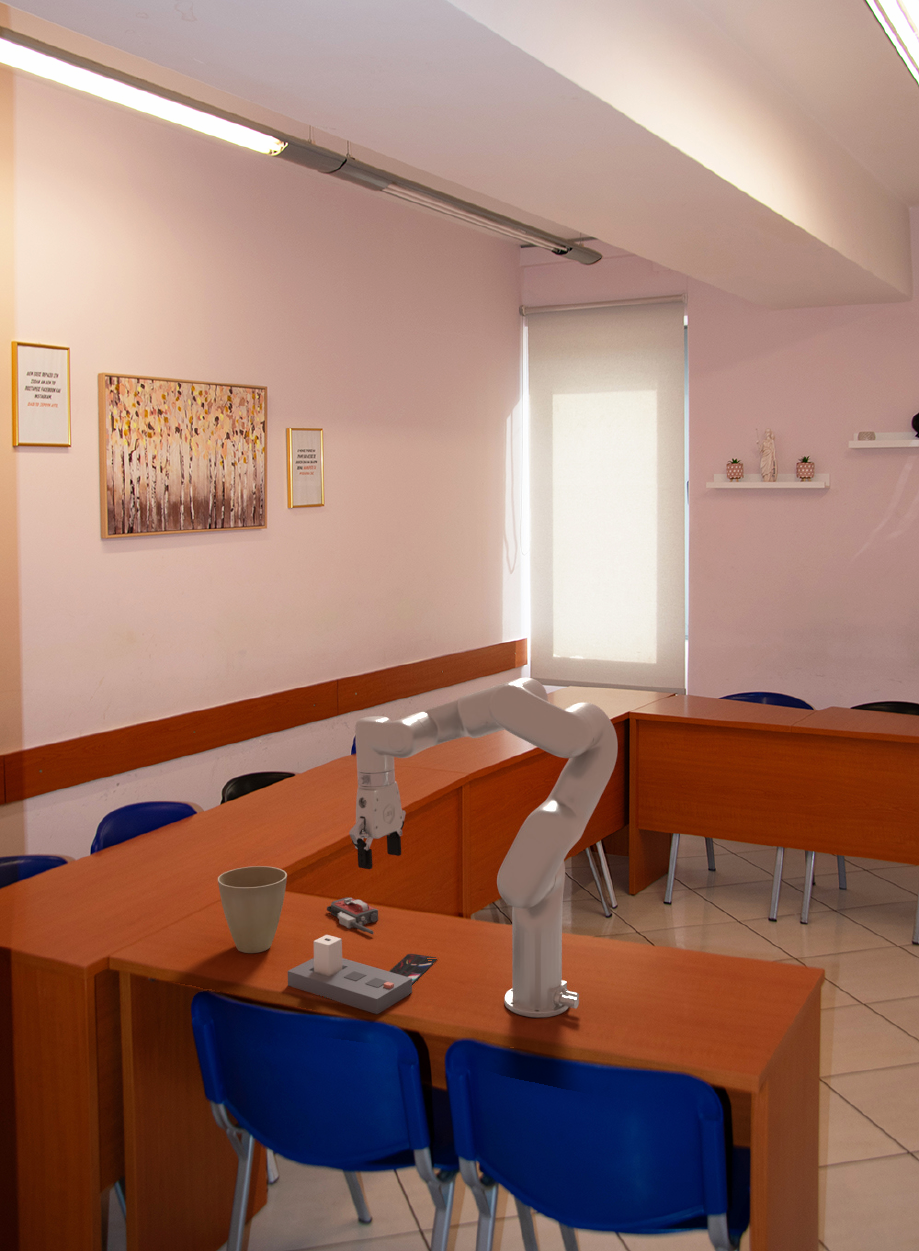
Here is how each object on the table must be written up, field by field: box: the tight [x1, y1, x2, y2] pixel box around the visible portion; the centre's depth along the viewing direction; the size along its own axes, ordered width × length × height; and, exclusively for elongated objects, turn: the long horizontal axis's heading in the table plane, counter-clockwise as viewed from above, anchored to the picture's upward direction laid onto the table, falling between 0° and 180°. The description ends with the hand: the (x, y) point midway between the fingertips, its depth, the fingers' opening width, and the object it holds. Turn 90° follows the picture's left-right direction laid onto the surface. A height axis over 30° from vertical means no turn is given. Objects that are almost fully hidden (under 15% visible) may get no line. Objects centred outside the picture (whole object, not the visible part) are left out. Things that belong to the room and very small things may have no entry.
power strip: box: [287, 957, 413, 1015], centre depth 209 cm, size 23×11×4 cm, turn 56°
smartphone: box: [388, 953, 438, 986], centre depth 218 cm, size 7×1×15 cm
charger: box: [313, 934, 343, 976], centre depth 212 cm, size 4×4×9 cm
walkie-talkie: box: [326, 896, 379, 935], centre depth 245 cm, size 9×4×20 cm
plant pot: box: [217, 865, 288, 954], centre depth 230 cm, size 15×15×16 cm
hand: (380, 861), depth 213 cm, fingers open, 9 cm apart
